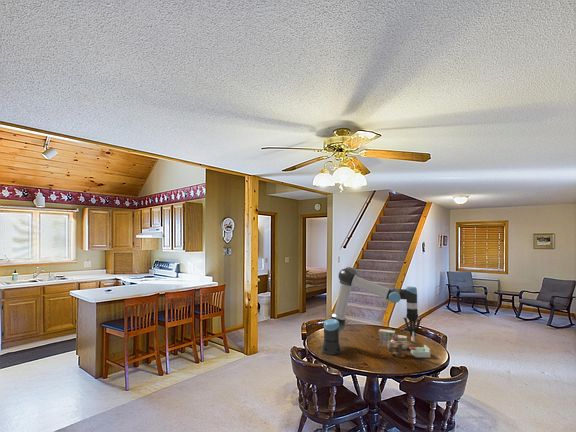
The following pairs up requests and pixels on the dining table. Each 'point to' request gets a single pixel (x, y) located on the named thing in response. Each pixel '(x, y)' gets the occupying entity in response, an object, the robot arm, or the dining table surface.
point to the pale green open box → (421, 352)
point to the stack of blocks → (390, 337)
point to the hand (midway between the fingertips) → (412, 340)
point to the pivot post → (399, 351)
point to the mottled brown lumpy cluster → (404, 344)
